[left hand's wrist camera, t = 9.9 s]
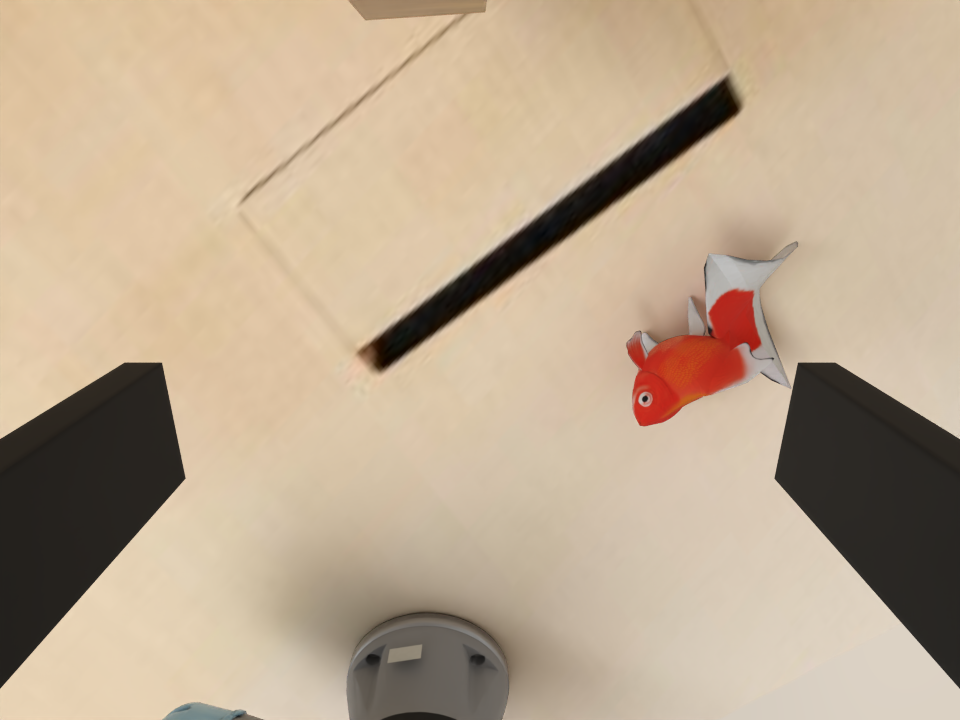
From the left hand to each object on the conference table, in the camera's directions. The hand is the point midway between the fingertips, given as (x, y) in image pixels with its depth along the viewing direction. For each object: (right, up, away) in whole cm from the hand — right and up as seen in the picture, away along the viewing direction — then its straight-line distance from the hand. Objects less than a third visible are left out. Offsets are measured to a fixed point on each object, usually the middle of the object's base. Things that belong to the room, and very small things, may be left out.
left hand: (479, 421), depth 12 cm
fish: (+16, +5, +31) cm, 36 cm away
